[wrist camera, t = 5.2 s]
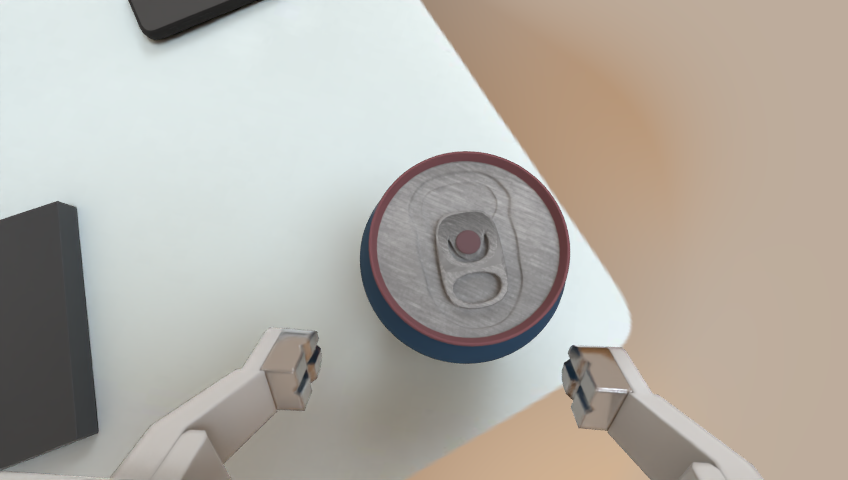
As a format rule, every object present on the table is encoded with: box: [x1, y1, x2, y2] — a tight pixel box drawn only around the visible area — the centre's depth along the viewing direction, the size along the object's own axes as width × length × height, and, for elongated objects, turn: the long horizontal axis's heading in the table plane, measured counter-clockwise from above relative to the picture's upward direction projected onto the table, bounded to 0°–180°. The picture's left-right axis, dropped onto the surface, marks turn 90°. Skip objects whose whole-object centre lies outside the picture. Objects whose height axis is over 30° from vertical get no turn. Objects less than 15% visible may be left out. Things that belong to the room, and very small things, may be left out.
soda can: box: [360, 151, 570, 364], centre depth 15 cm, size 7×7×12 cm
